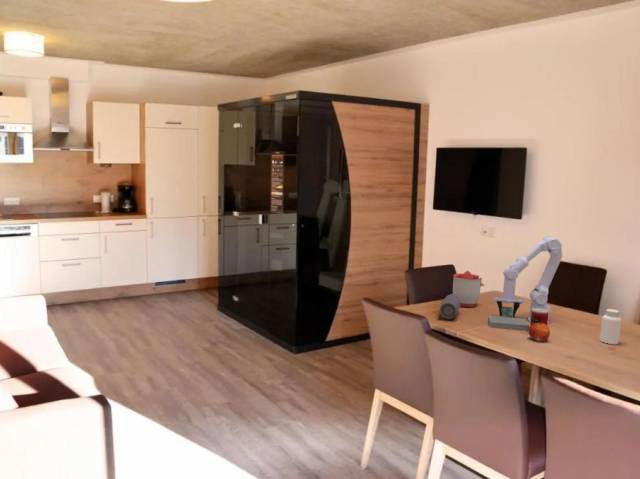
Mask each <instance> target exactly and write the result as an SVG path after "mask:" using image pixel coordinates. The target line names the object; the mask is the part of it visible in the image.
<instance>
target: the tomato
mask: <svg viewBox="0 0 640 479" xmlns="http://www.w3.org/2000/svg"><path fill="white" fill-rule="evenodd" d="M550 334H551V329H550V327H549V325H546V324H544V323H534V324H532V325H531V326H530V325H529V331H528V335H529V336H530V337H531V339H533V340H534V341H537V342H544V341H547V340H548V339H549V337H550Z"/></svg>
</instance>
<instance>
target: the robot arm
mask: <svg viewBox="0 0 640 479" xmlns="http://www.w3.org/2000/svg"><path fill="white" fill-rule="evenodd" d="M562 246H563V245H562V243H561V241H560V240H559V239H558V238H556V237H552V236H550V235H546V236H545V237H543V238H542V239H541V240H539V241H538V243H536V244H535V246H533V247H532V248H531V250H529V251H528V252H527V253H526V254H525V255H524V256H520V257H517V258H516V259H515V261H514V262H513V263H512V264H509V266H508V267H506V268H505V269H504V271H502V274H503V276H504V277H503V278H504V281H503V292H502V297H493V303H496V305H497V308H498V312H499V317H501V316H502V306H503V303H506V304H508V303H509V304H513V306H512V308H513V318H516V313H517V311H518V309H519V308H520V305H524V299H518V298H515V297H516V296H515V294H516V285H517V284H516V280H517V278H518V276H519V274H521V272H522V271H524V270H526V268H527V267H528V266H529V264H530V263H529V262H530V261H531V260H533V259H534V258H536V256H538V255H539V254H541V253H542V252H548V254H549V258H548V261H547V263H546V265H545V268H544V270H543V272H542V274H541V276H540V279H539V282H538V283H537V285H535V286H534V288H533V289H532V290H531V291H530V294H529V298H530V299H531V300H530V305H529V306H530V308H529V316H528V317H527V319H528V321H529V322H531V311H532V309H533V308H541V309H546V310H548V311H549V314H548V324H549V323H550V315H551V314H550V313H551V307H550V304H546V303H548V295H549V287H550V285H551V283H552V280H554V279H553V278H554V276H555V275H556V274H555V273H556V272H557V269H558V268H559V265H560V263H561V261H562V259H563V250H562Z"/></svg>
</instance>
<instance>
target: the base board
mask: <svg viewBox="0 0 640 479" xmlns="http://www.w3.org/2000/svg"><path fill="white" fill-rule="evenodd" d="M487 322H488V326H489V328H495V329H497V328H498V329H508V330H515V331H516V330H518V331H519V330H520V331H528V332H529V327H530V323H528V321H527V319H526V318H519V317H513V318H510V317H501V316H499V315H496V316H494V315H488V318H487Z"/></svg>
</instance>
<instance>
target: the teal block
mask: <svg viewBox="0 0 640 479" xmlns="http://www.w3.org/2000/svg"><path fill="white" fill-rule="evenodd" d="M500 317H510V318H514V317H513V306H503V305H502V316H500Z"/></svg>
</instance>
